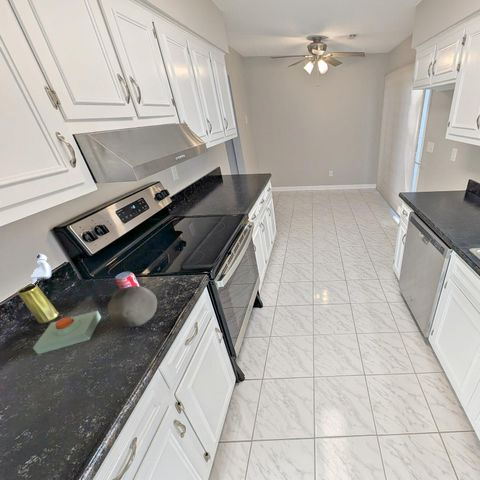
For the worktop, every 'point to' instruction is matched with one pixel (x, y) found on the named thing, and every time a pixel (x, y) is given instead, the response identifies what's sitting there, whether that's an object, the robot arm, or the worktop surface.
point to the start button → (63, 322)
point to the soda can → (126, 280)
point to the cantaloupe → (132, 306)
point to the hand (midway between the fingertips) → (12, 292)
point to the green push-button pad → (68, 333)
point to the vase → (38, 303)
